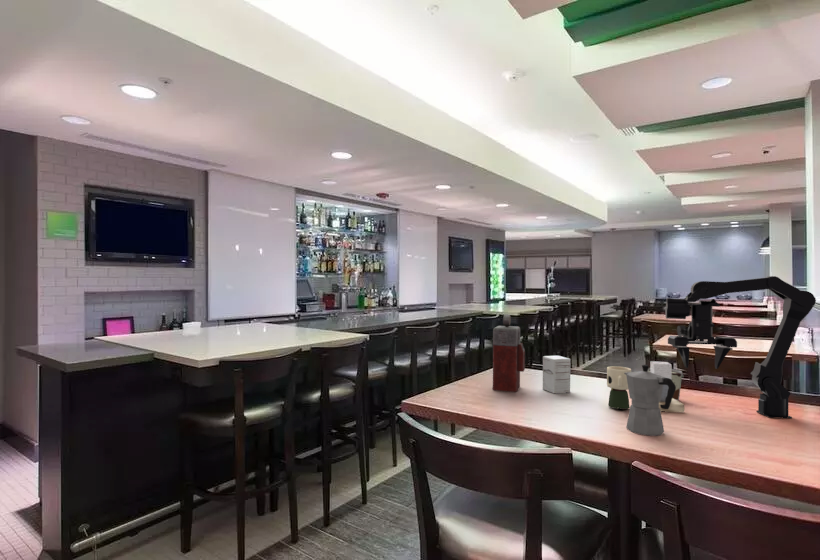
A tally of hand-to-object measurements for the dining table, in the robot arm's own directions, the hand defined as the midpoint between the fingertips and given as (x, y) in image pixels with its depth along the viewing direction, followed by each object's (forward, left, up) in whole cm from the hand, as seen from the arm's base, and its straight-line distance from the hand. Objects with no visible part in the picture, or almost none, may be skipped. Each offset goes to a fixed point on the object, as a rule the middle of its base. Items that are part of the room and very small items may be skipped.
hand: (701, 368), depth 148 cm
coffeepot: (+27, +27, -13) cm, 40 cm away
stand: (+13, +1, -13) cm, 18 cm away
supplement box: (+42, -18, -13) cm, 48 cm away
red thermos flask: (+59, -19, -13) cm, 63 cm away
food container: (+7, -13, -13) cm, 20 cm away
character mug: (+27, +4, -13) cm, 30 cm away
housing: (+13, +1, -10) cm, 17 cm away
